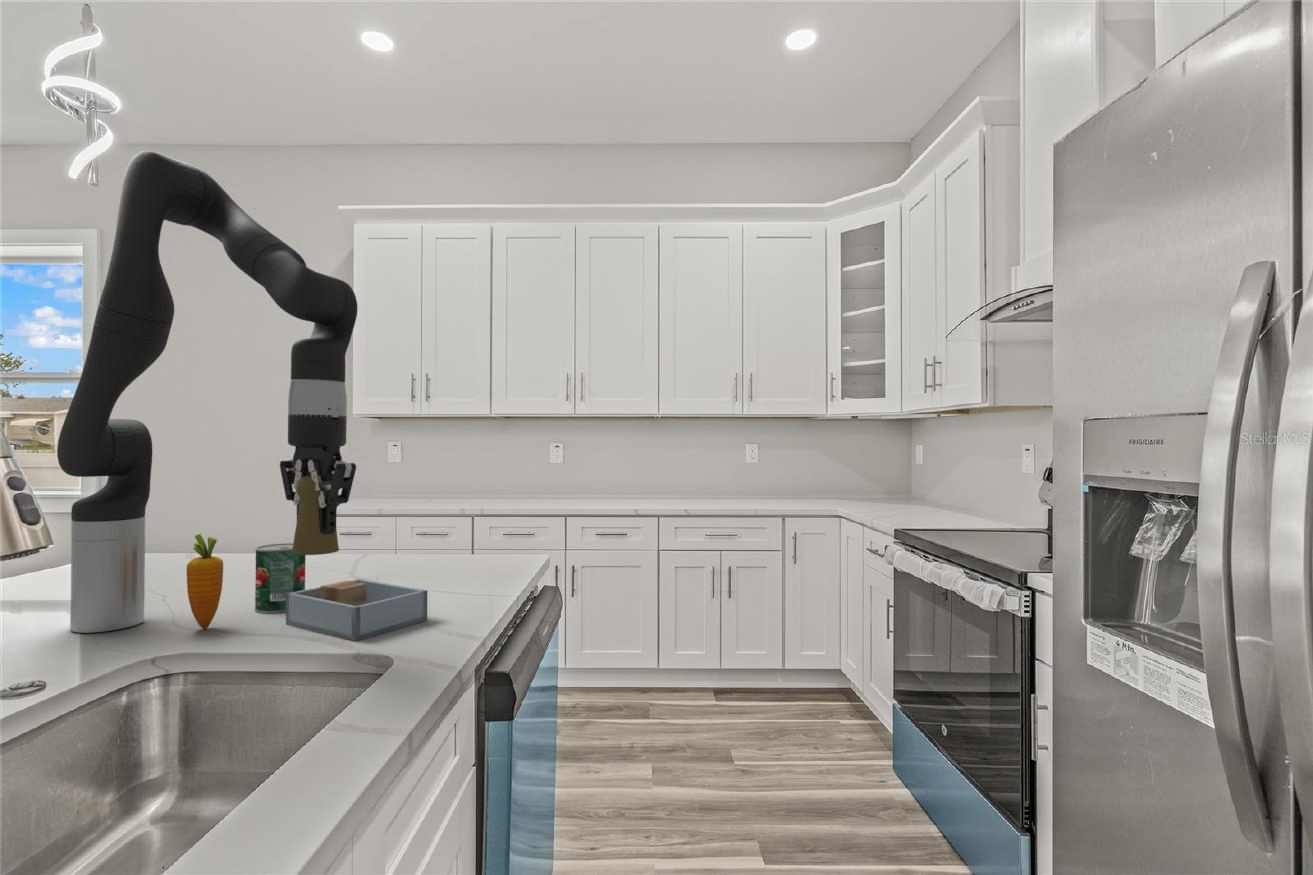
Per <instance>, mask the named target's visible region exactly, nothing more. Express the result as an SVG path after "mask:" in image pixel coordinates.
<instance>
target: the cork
mask: <svg viewBox="0 0 1313 875" xmlns="http://www.w3.org/2000/svg"><path fill="white" fill-rule="evenodd" d="M321 482H322V484H323V485H331V484H332V481H321ZM295 491H297V494H298V495H299V497H300V498H301V499H300V505H299V511H298V517H297V516H296V523H295V524H296V526H295V530H294V537H293V542H292V543H293V549H292V553H293V554H296V555H306V556H319V555H327V554H328V555H329V554H333V553H334V554H335V553H337V552H339V551H340V549H339V541H338V540H339V539H338V532H337V528H336V529H335V532H334V533H333V534H325V535H323V534H321V533H320V524H319V508H321V507H320V505H319V499H318V496H319V492H317V491H316V490H315V484H314V481H313V479H312V477H311V476H303V477H301V478H300V479H299V480H298V481H297V485H296V489H295ZM329 492H330V490H326V495H327V498H328V496H329Z"/></svg>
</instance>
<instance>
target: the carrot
mask: <svg viewBox="0 0 1313 875" xmlns="http://www.w3.org/2000/svg"><path fill="white" fill-rule="evenodd" d="M194 538H195V540H196V541H197V542H196V543H193V546H194V547H192V549H193V551H195V552H196V553H197V554H198V555H199V556H200V557H199V556H198V557H195V558H192V559H191V560H190V561H189V562H188V563H187V565H186V588H187V595H188V602H189V606H190V610H191V612H192V615H193V618H194V619H195V621H196V622H197V624H198V626H199V627H200V628H201V629H203V630H206V629H208V627H209V626H211V623H212V621H213V620H214V617H215V615H216V612H217V610H218V608H219V605H220V599H221V595H222V590H223V582H224V581H223V579H224V561H223V558H220V557H218V556H212V554H213V551H214V548H215V545H216V544H217V543H218V542H217V541H218V538H215V537H214V538H213V537H207V543H206V541H205V540H204V538H203V536H202V534H201V533H200V534H196V535H194ZM207 545H208V546H207Z"/></svg>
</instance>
